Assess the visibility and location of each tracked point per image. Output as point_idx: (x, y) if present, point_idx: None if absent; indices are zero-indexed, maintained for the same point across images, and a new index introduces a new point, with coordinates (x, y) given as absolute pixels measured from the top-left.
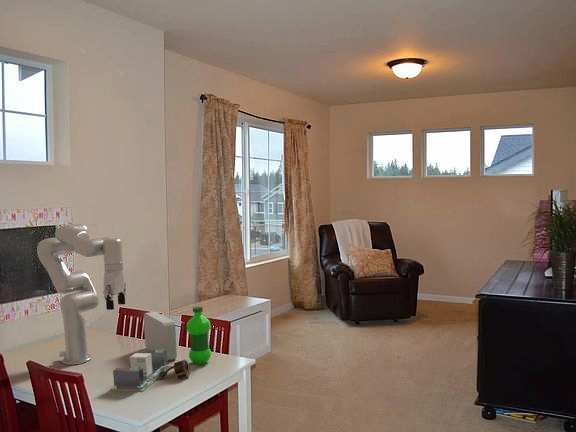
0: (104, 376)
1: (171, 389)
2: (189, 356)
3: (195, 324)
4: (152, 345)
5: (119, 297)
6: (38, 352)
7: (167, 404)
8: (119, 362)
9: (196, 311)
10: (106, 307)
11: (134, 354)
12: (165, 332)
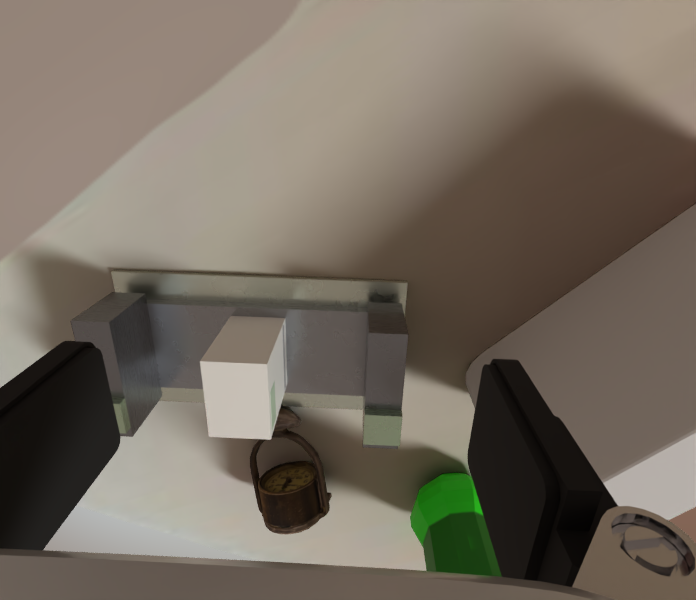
0: (265, 152)
1: (179, 472)
2: (436, 487)
3: None
4: (647, 269)
5: (523, 489)
6: None
7: None
8: (483, 126)
9: None
10: (43, 357)
11: (241, 367)
12: None
